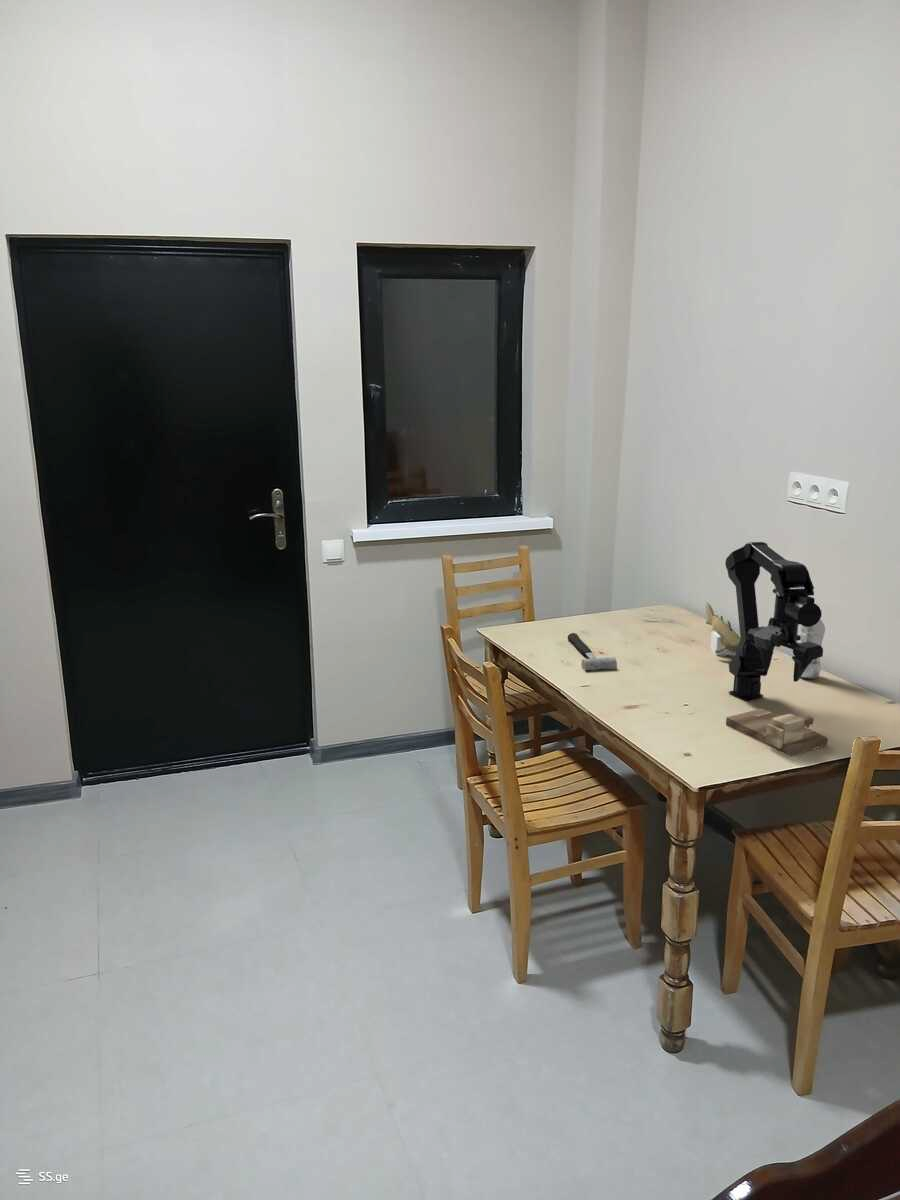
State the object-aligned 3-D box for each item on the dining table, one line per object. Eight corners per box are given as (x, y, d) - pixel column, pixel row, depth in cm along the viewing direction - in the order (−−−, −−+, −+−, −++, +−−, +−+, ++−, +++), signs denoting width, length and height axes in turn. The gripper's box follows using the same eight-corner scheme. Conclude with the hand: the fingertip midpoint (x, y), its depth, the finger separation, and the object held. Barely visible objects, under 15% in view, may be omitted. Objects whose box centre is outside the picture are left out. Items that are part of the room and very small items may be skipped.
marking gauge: (765, 742, 194) (767, 719, 192) (801, 732, 199) (804, 710, 198) (779, 748, 190) (781, 725, 189) (815, 738, 196) (818, 715, 194)
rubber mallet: (587, 631, 274) (617, 659, 246) (586, 641, 275) (616, 671, 247) (558, 632, 273) (585, 661, 244) (558, 643, 274) (584, 673, 245)
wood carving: (718, 633, 279) (720, 601, 277) (753, 668, 246) (756, 632, 243) (691, 633, 280) (693, 601, 277) (723, 669, 246) (726, 633, 243)
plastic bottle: (791, 677, 238) (798, 610, 233) (801, 671, 243) (808, 605, 238) (814, 683, 234) (821, 614, 229) (823, 676, 238) (831, 609, 233)
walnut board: (725, 724, 207) (726, 716, 206) (761, 715, 212) (761, 708, 212) (790, 756, 190) (791, 747, 189) (827, 745, 195) (828, 737, 194)
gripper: (733, 610, 206) (728, 669, 210) (793, 629, 190) (787, 693, 194) (765, 604, 211) (760, 662, 215) (827, 622, 195) (820, 685, 199)
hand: (780, 675), depth 206 cm, fingers open, 9 cm apart
